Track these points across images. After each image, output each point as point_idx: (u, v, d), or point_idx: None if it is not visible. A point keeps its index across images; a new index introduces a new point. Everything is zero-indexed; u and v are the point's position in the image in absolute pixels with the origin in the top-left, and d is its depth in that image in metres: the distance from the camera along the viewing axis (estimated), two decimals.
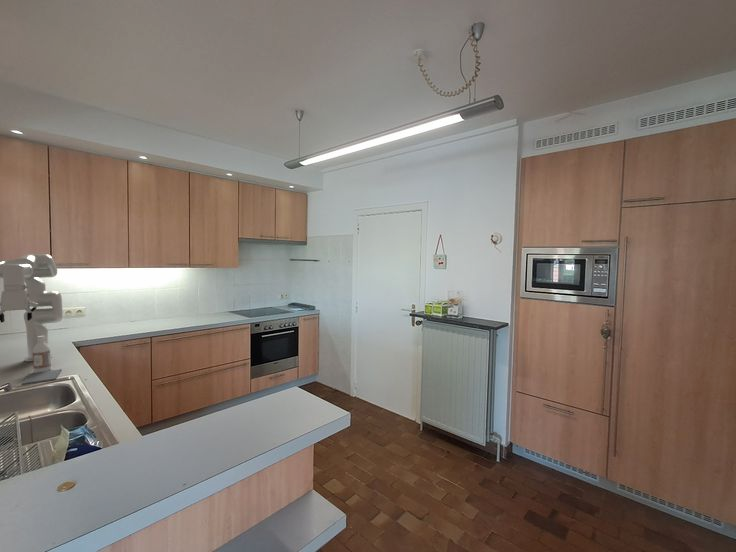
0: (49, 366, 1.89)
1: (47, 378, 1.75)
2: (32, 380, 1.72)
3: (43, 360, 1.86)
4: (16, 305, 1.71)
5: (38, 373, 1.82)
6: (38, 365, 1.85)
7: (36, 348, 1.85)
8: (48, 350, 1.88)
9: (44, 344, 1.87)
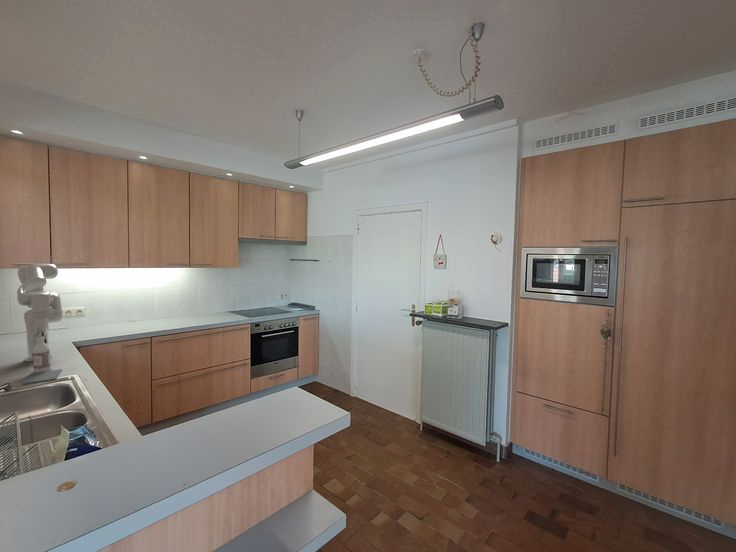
0: (49, 366, 1.89)
1: (47, 378, 1.75)
2: (32, 380, 1.72)
3: (43, 360, 1.85)
4: (47, 328, 1.91)
5: (38, 373, 1.82)
6: (38, 365, 1.84)
7: (35, 348, 1.83)
8: (48, 350, 1.87)
9: (43, 344, 1.86)
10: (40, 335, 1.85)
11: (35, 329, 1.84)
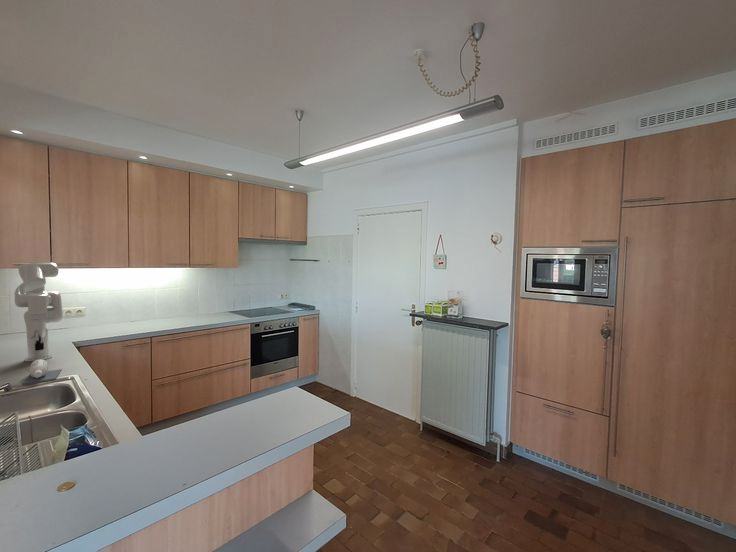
0: None
1: (47, 378, 1.75)
2: (32, 380, 1.72)
3: None
4: (44, 331, 1.85)
5: None
6: None
7: (35, 377, 1.74)
8: None
9: (42, 373, 1.75)
10: (37, 338, 1.79)
11: (32, 332, 1.78)
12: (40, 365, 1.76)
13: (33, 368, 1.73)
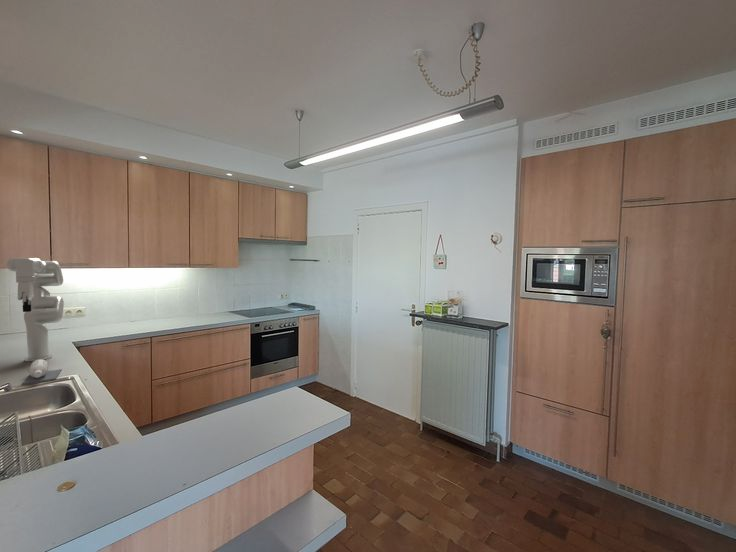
0: None
1: (47, 378, 1.75)
2: (32, 380, 1.72)
3: None
4: (31, 294, 1.93)
5: None
6: None
7: (35, 377, 1.74)
8: (46, 371, 1.79)
9: (42, 373, 1.75)
10: (24, 299, 1.87)
11: (19, 293, 1.86)
12: (40, 365, 1.76)
13: (33, 368, 1.73)
